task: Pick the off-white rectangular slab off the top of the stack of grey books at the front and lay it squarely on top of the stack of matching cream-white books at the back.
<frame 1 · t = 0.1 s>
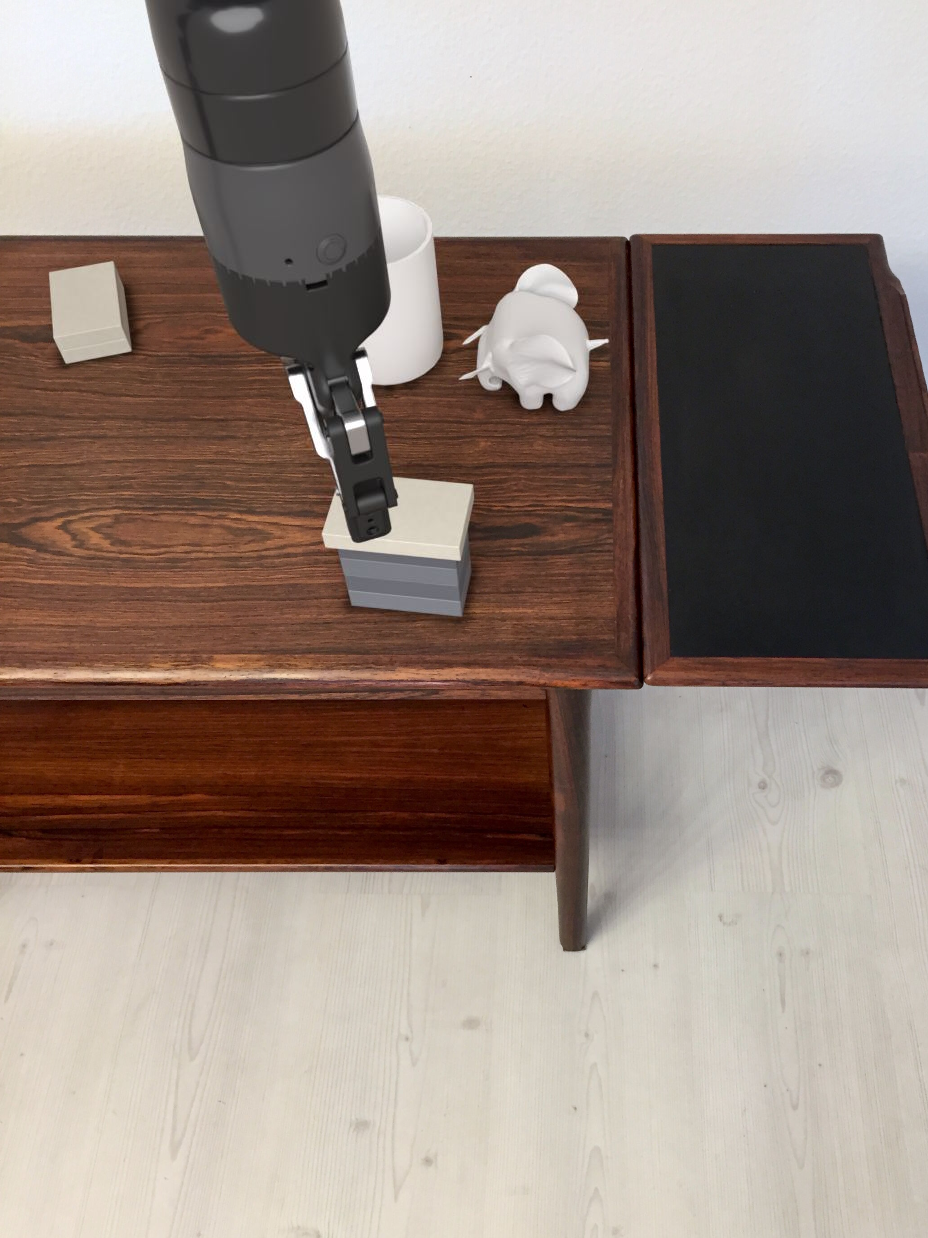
hand: (349, 480, 59), 17 cm above the table, tool pointing down, fingers open, 8 cm apart
grey books: (412, 588, 76), on the table, touching off-white rectangular slab
elephant figurine: (533, 388, 88), on the table
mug: (390, 343, 91), on the table
off-white rectangular slab: (401, 522, 70), point 7 cm above the table, touching grey books
white books: (95, 324, 92), on the table
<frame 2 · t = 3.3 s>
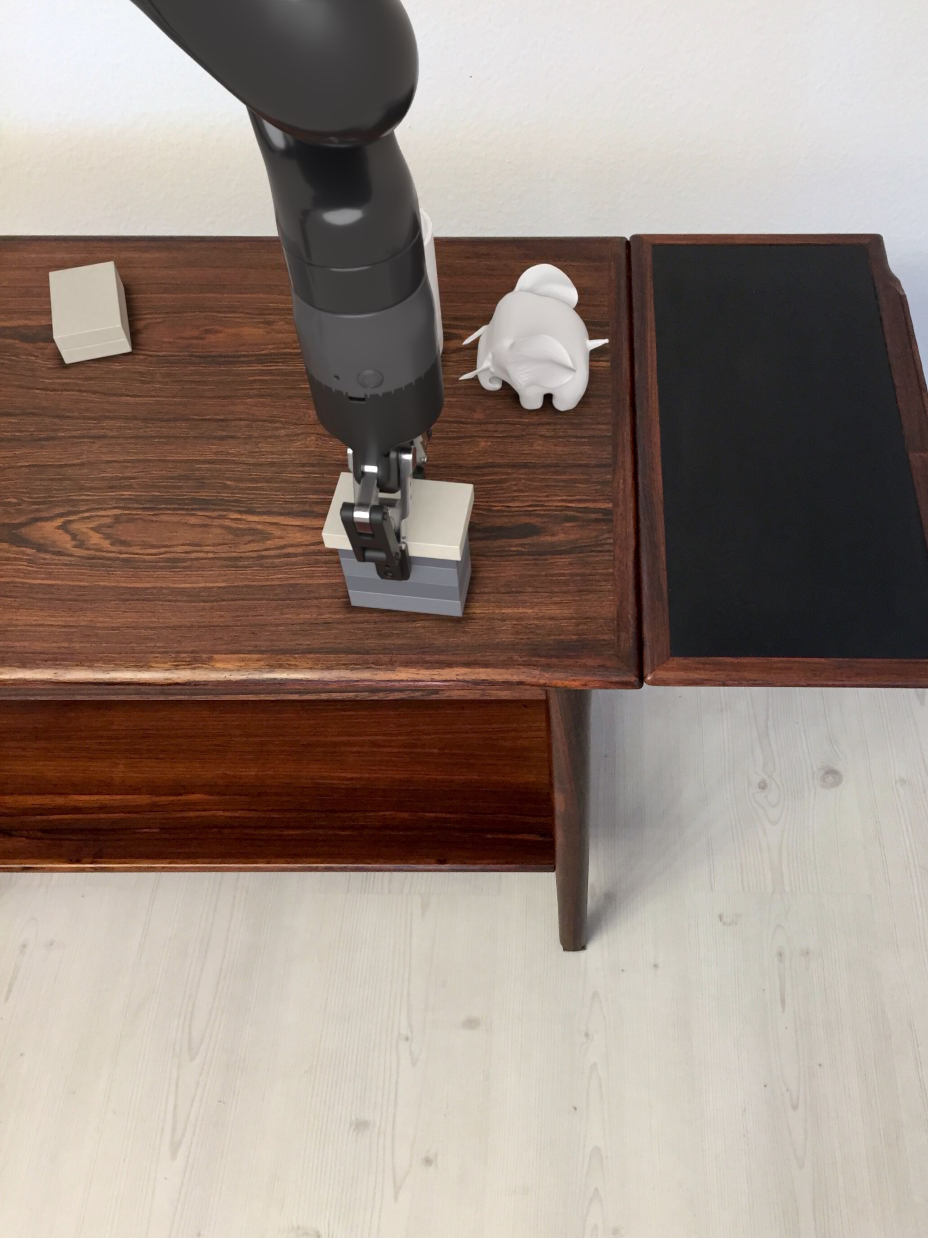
hand: (404, 539, 72), 5 cm above the table, tool pointing down, fingers closed on off-white rectangular slab, 5 cm apart
off-white rectangular slab: (401, 522, 70), point 7 cm above the table, touching grey books, gripper
everything else where it was.
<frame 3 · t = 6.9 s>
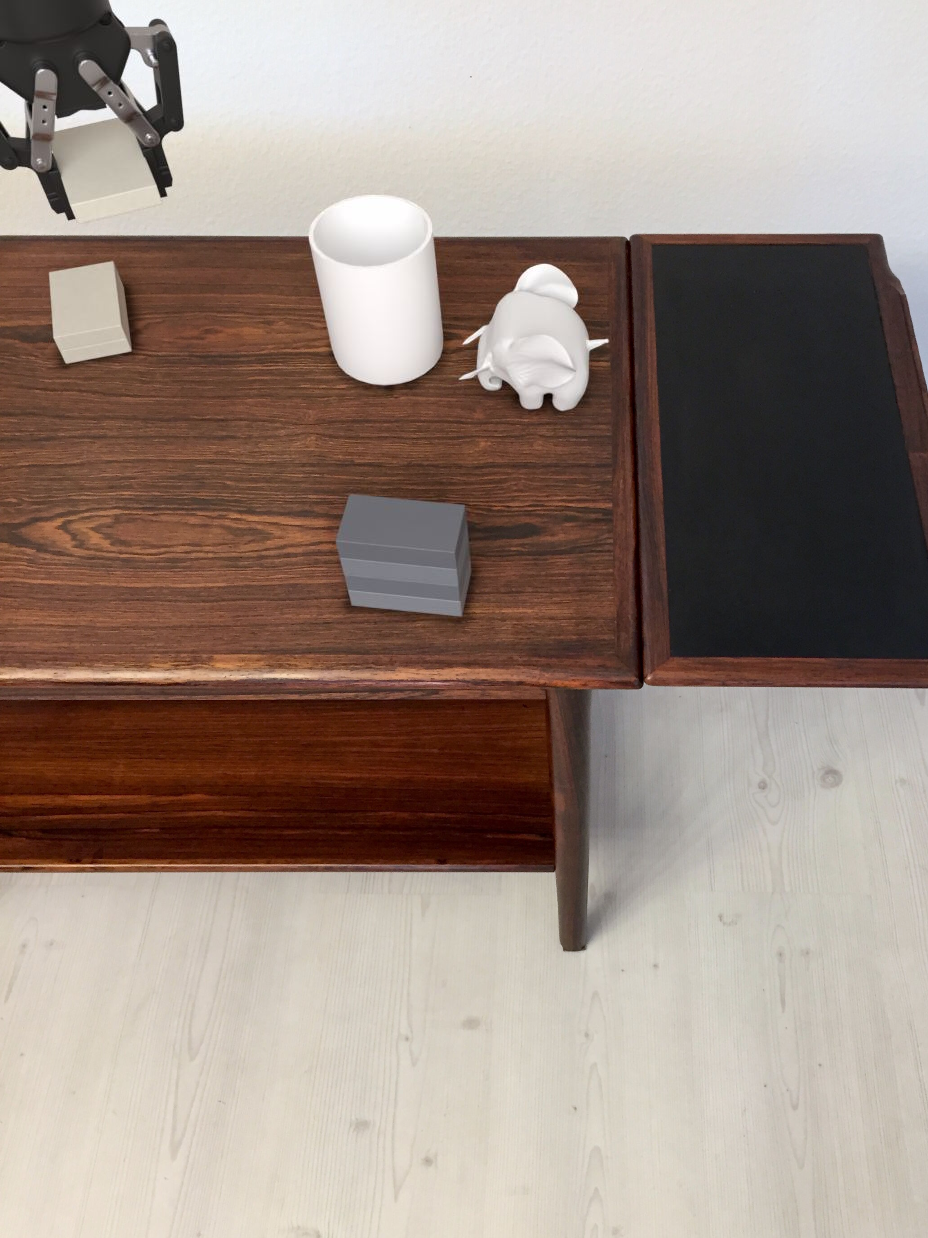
hand: (115, 201, 73), 18 cm above the table, tool pointing down, fingers closed on off-white rectangular slab, 5 cm apart
grey books: (412, 588, 76), on the table
off-white rectangular slab: (107, 177, 71), point 19 cm above the table, touching gripper
everything else where it was.
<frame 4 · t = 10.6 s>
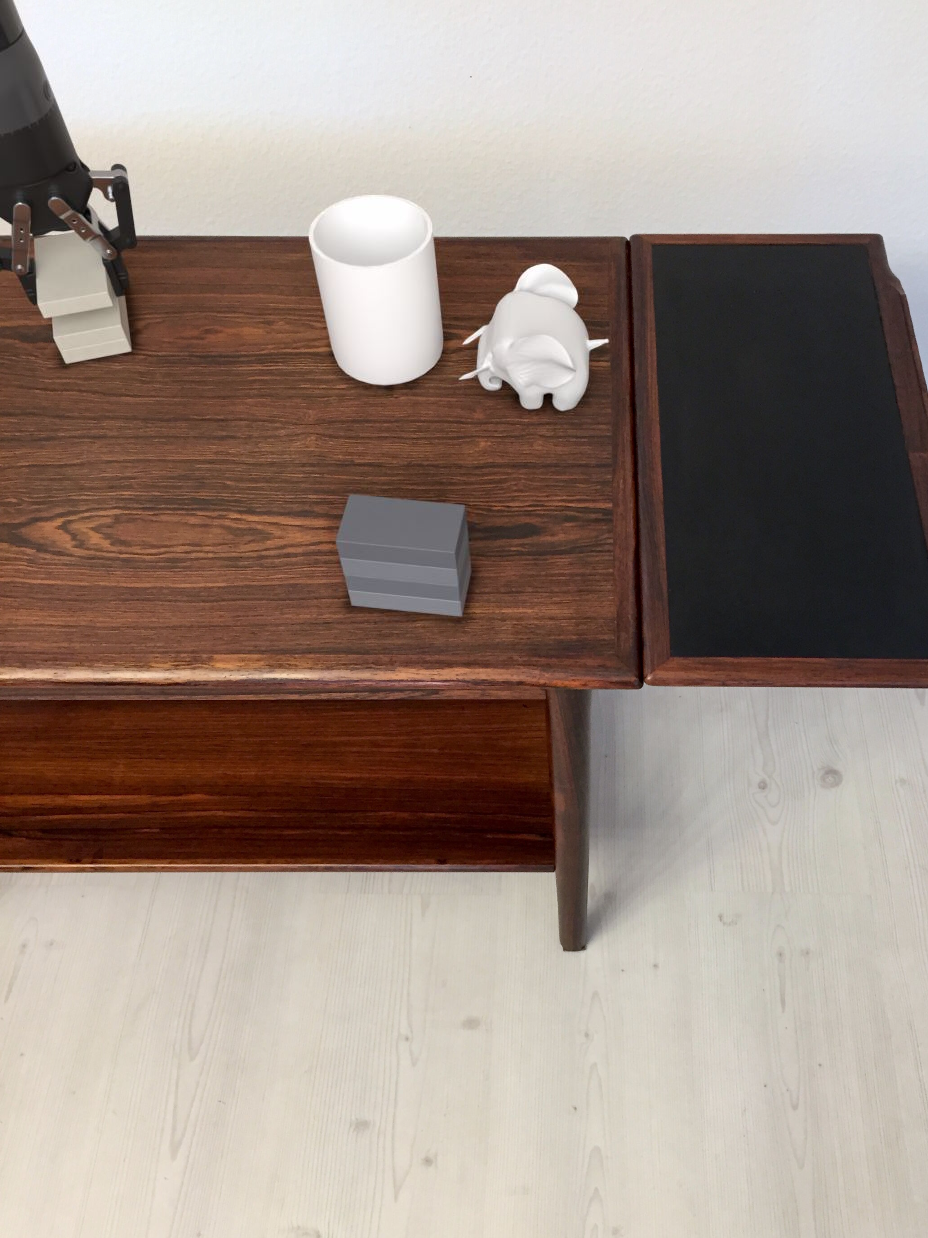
hand: (83, 296, 90), 3 cm above the table, tool pointing down, fingers closed on off-white rectangular slab, 5 cm apart
off-white rectangular slab: (76, 278, 88), point 5 cm above the table, touching gripper
everything else where it was.
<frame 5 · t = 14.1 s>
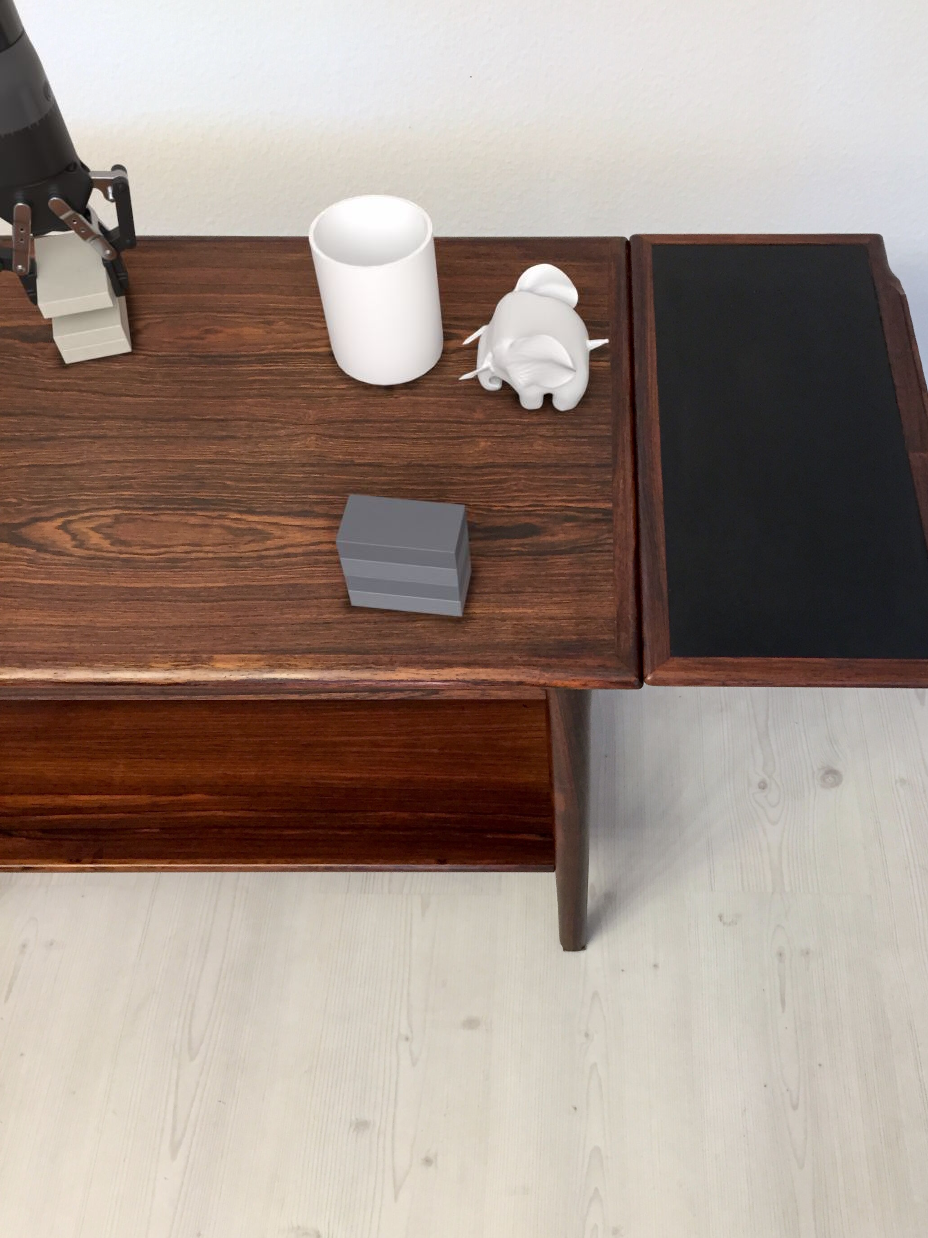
hand: (83, 296, 90), 3 cm above the table, tool pointing down, fingers closed on off-white rectangular slab, 5 cm apart
off-white rectangular slab: (76, 279, 89), point 5 cm above the table, touching gripper
white books: (95, 324, 92), on the table, touching gripper
everything else where it was.
when the fingers open (4 cm above the table, at t = 17.2 s): off-white rectangular slab drops 3 cm, resting on white books.
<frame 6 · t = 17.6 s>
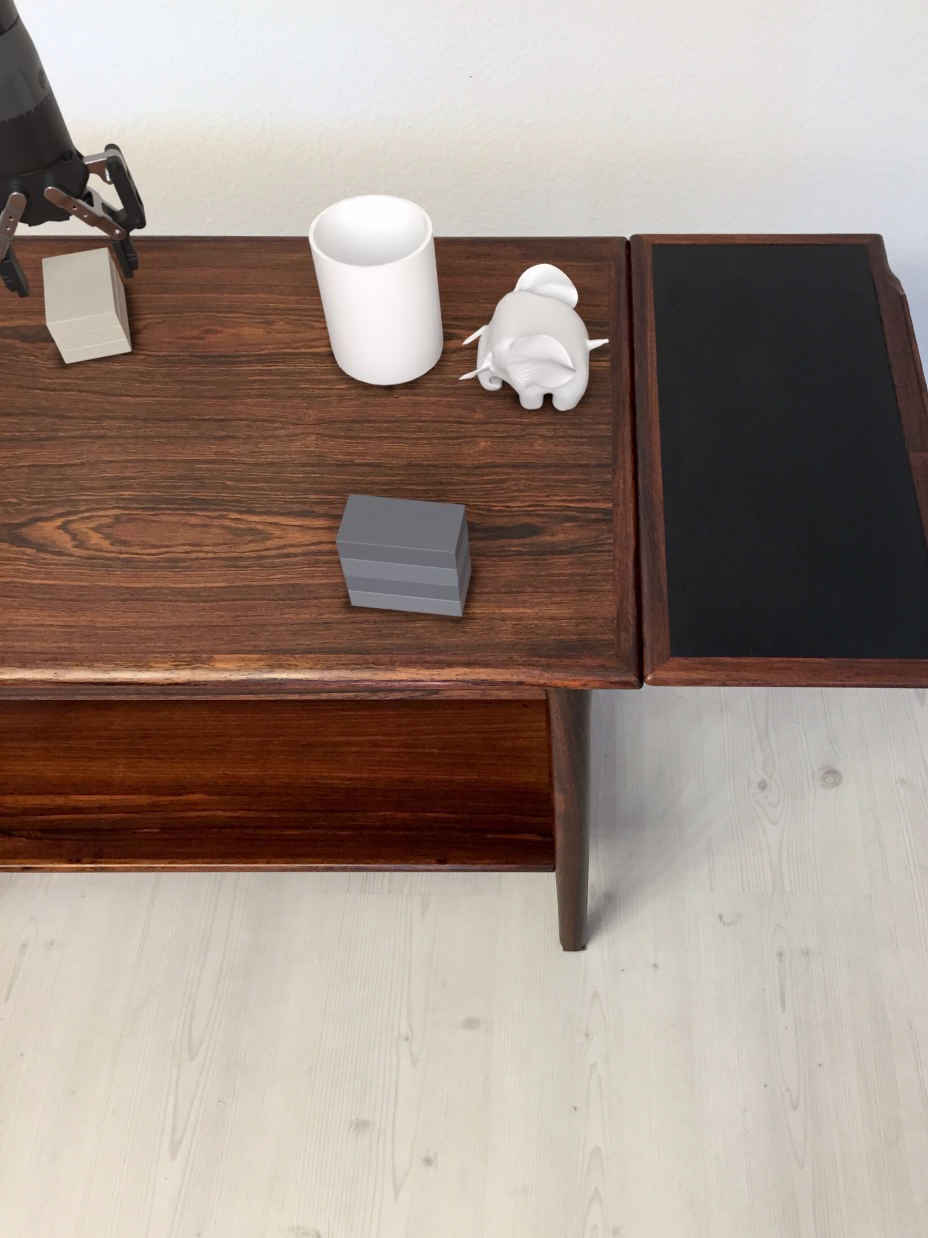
hand: (77, 281, 89), 4 cm above the table, tool pointing down, fingers open, 8 cm apart
off-white rectangular slab: (83, 298, 90), point 3 cm above the table, touching white books
white books: (95, 324, 92), on the table, touching off-white rectangular slab
everything else where it was.
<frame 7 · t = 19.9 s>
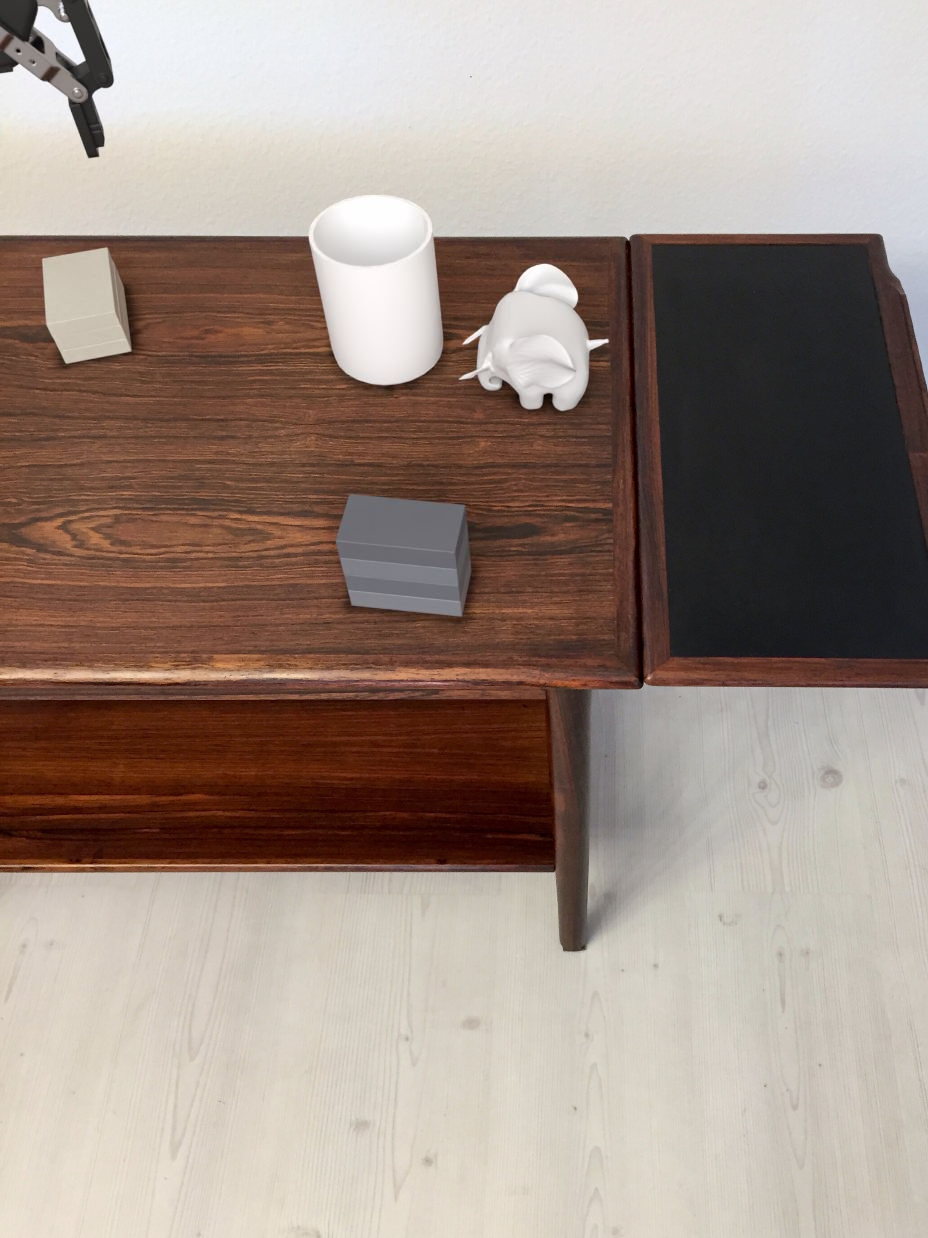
hand: (26, 162, 70), 21 cm above the table, tool pointing down, fingers open, 8 cm apart
nothing on the table moved.
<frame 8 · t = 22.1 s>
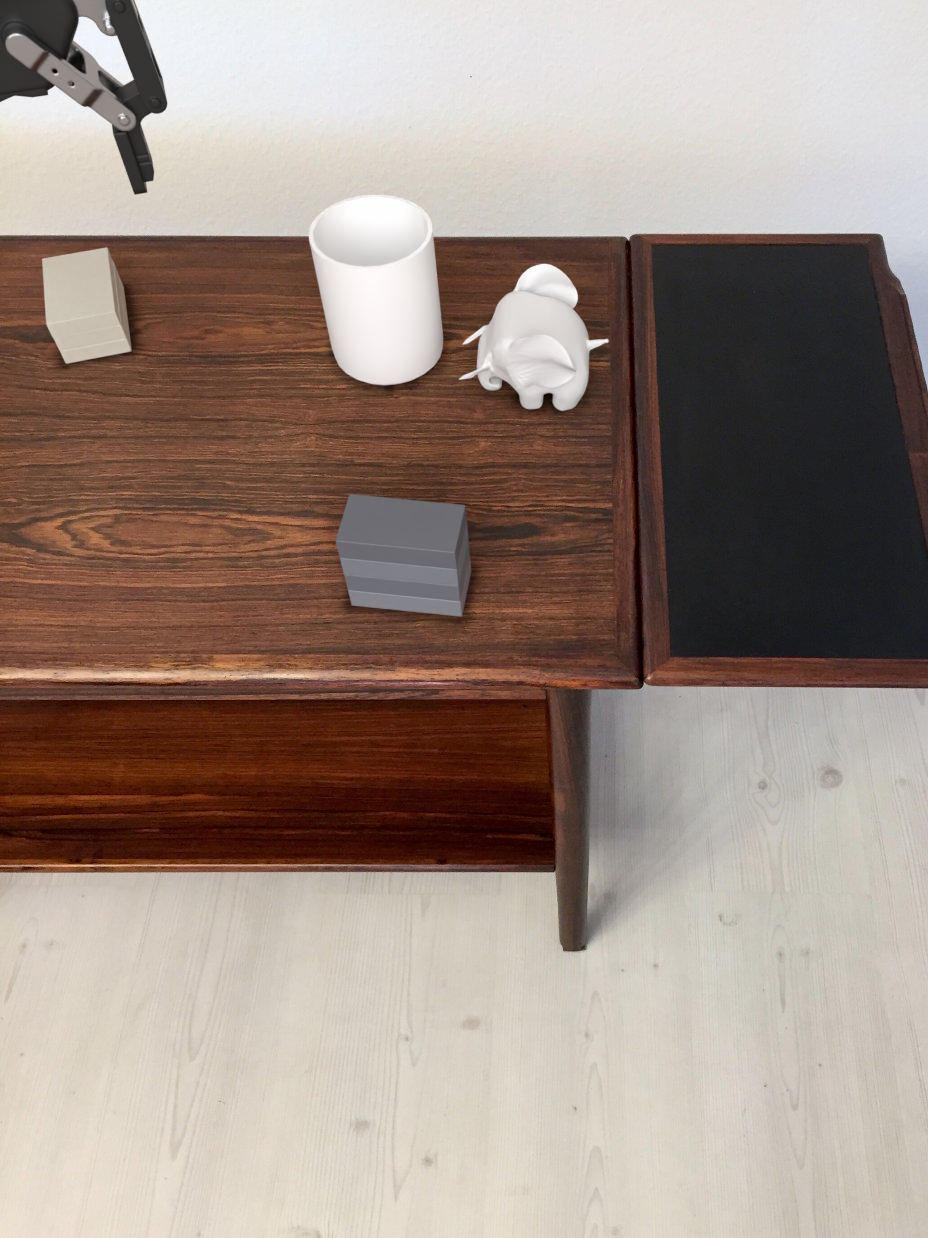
hand: (61, 199, 59), 26 cm above the table, tool pointing down, fingers open, 8 cm apart
nothing on the table moved.
at the end: off-white rectangular slab 0.0 cm off-centre on the white books, point 2.8 cm above the white books's base; off-white rectangular slab tilted 0°; off-white rectangular slab touching white books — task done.
